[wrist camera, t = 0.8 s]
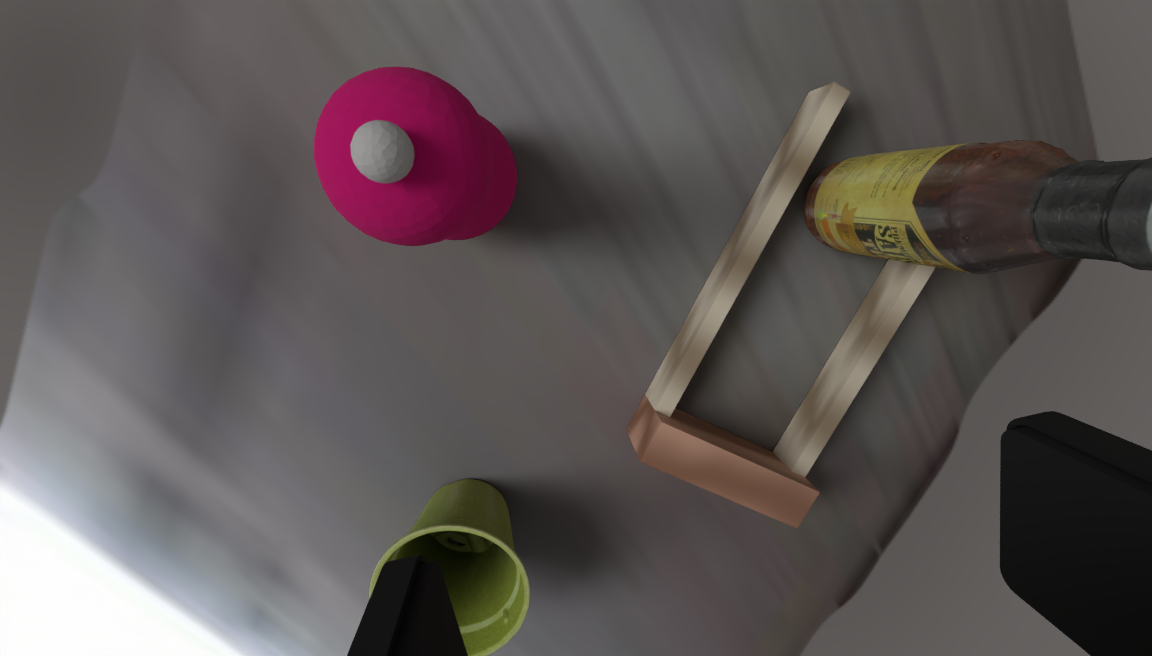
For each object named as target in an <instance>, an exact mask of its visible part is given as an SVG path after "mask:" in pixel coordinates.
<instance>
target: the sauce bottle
mask: <svg viewBox="0 0 1152 656" xmlns="http://www.w3.org/2000/svg"><path fill="white" fill-rule="evenodd" d="M804 215H805V220H806V224H807V226H808V228H809V229H810V231H811V232H812V234H813V235H814V236H815V237H816V238H817V239H818V240H820V241H821V243H823V244H826V245H828V246H830V247H831V248H835V249H837V250H839V251H842V252H847V253H853V254H859V255H865V256H871V257H877V258H883V259H889V260H895V261H901V262H907V263H912V264H918V265H926V266H932V267H938V268H944V269H950V270H955V271H962V272H968V273H975V274H986V273H991V272H995V271H1000V270H1004V269H1009V268H1014V267H1018V266H1023V265H1028V264H1033V263H1037V262H1042V261H1046V260H1051V259H1055V258H1061V259H1075V258H1082V259H1085V258H1087V259H1098V260H1107V261H1113V262H1121V263H1123V264H1125V265H1128V266H1130V267H1132V268H1135V269H1139V270H1152V158H1149V159H1145V160H1128V161H1113V162H1104V161H1096V160H1087V161H1082V162H1078V161H1076V160H1075V159H1074V158H1073V157H1070V156H1069V155H1068V154H1066V153H1065V151H1064V150H1062V149H1061V148H1057V147H1054V146H1053V145H1049V144H1047V143H1045V142H1042V141H1024V140H1014V141H1005V142H996V143H991V144H988V143H977V142H976V143H967V144H958V145H949V146H940V147H931V148H923V149H914V150H905V151H896V152H887V153H879V154H871V155H864V156H857V157H853V158H850V159H847V160H844V161H841V162H838V163H836V164H833V165H830V166H828V167H826V168H825V169H824V170H822V171H821V173H820V174H819V175H818V176H817V177H816V178H815V179H814V181H813V182H812V183H811V185H810V186H809V190H808V192H807V194H806V198H805V203H804Z"/></svg>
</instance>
